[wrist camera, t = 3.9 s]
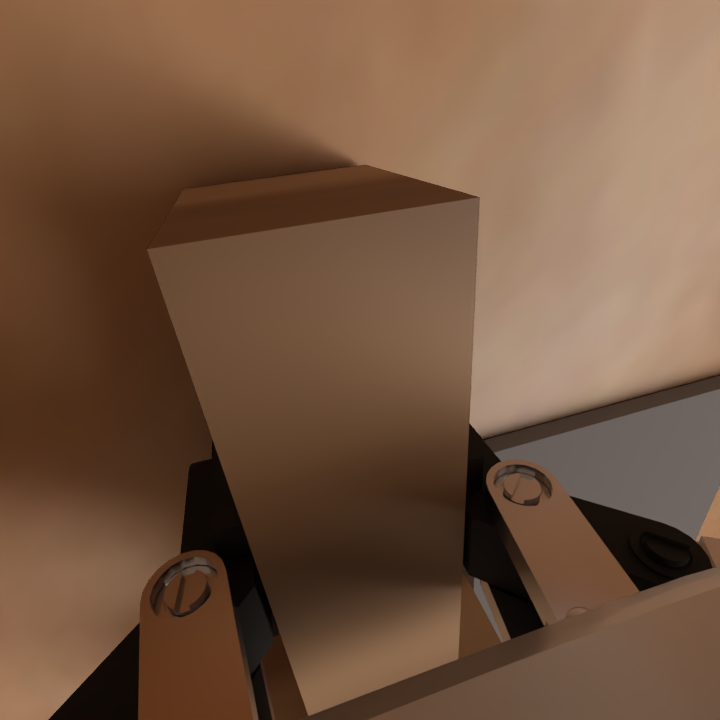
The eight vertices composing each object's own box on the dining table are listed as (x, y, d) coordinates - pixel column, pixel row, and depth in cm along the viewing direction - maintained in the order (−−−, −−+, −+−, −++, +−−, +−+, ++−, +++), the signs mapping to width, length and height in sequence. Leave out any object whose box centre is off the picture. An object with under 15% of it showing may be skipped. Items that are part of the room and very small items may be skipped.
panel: (472, 443, 13) (482, 456, 13) (750, 366, 15) (769, 375, 15) (457, 744, 24) (462, 757, 24) (622, 675, 26) (629, 685, 26)
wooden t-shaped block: (80, 202, 8) (-101, 302, 3) (446, 153, 9) (649, 181, 5) (265, 661, 16) (280, 860, 11) (442, 599, 17) (515, 757, 13)
